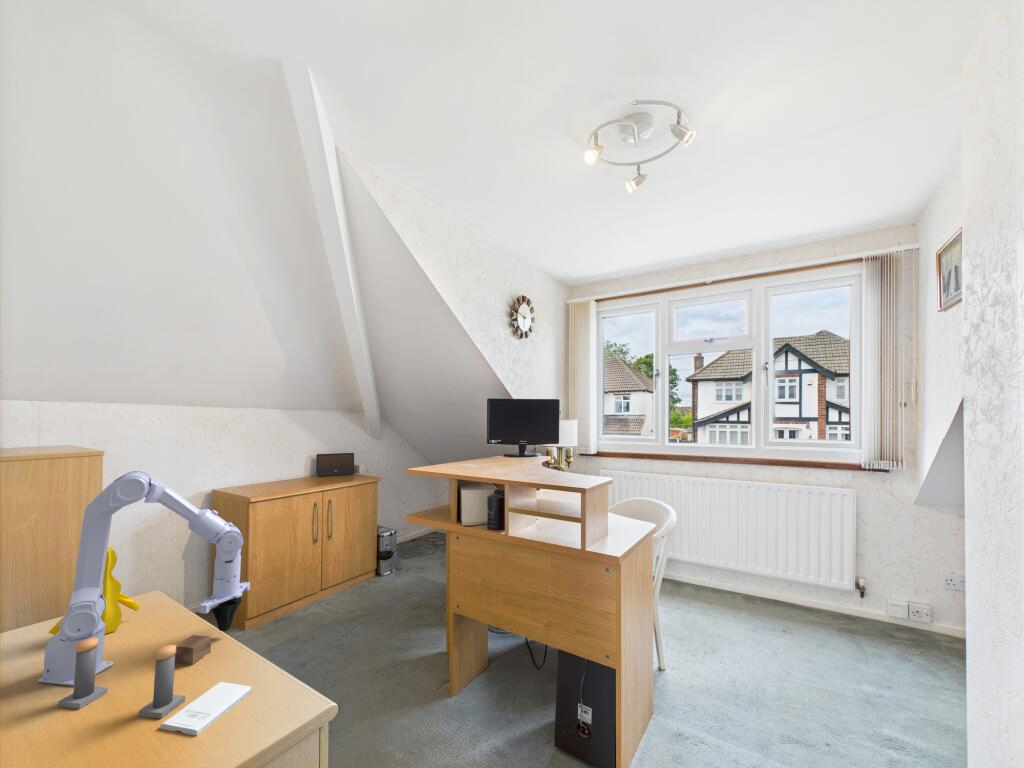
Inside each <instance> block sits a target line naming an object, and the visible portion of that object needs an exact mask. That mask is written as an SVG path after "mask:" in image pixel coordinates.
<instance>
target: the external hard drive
mask: <svg viewBox="0 0 1024 768" xmlns="http://www.w3.org/2000/svg"><path fill="white" fill-rule="evenodd" d="M252 692H253V688H252V686H249V685H243V684H237V683H236V684H235V683H231V682H226V681H225V682H224V681H220V682H219V681H218V683H216V684H214V686H212V687H211V688H209V689H208V690H206V691H205V692H204V693H202V694H201V695H200V696H198V697H197V698H195V699H193V701H191V702H190V703H188V704H187V705H186V706H184V707H183V708H182V709H180V710H178V711H177V712H176V713H174V714H173V715H172V716H171V717H169V718H168V719H166V720H164V722H161V724H160V729H161V730H166V731H171V732H181V733H182V734H186V735H191V736H195V735H196V737H197V736H199V735H200V734H201V733H203V732H204V731H205V730H206V729H208V728H209V727H210V726H212V725H213V724H214V723H215V722H216V721H218V720H219V719H220V718H221V717H223V716H224V715H225V714H226V713H227V712H229V711H230V710H232V708H234V707H236V705H238V704H239V703H240V702H241V701H243V700H244V699H245V698H246V697H248V696H249V695H250V694H252ZM248 694H249V695H248ZM243 698H244V699H243Z"/></svg>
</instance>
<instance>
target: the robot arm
mask: <svg viewBox="0 0 1024 768" xmlns="http://www.w3.org/2000/svg"><path fill="white" fill-rule="evenodd" d="M143 498H145V499H144V501H143V503H144V504H148V503H151V504H153V503H156V504H161V505H162V506H164V507H166V508H167V509H169V510H170V511H173V512H174V513H175V514H177V515H178V516H180V517H182V519H185V520H186V521H188V524H187V526H188V530H190V531H192V532H193V533H195V535H198V536H199V537H200V538H202V539H203V540H204V541H207V542H208V543H210V544H215V549H216V554H215V555H216V557H215V559H214V570H213V571H214V572H213V587H212V589H213V590H212V594H211V596H209V597H208V598H207V599H206V600H205V601H204V602H202V603H200V604H199V605H198V614H205V615H206V614H208V613H209V612H210V611H211V612H212V614H213V616H214V618H215V619H216V624H217V628H218V631H219V630H220V632H227V631H228V630H230V629H231V626H232V623H233V621H234V620H233V619H234V617H235V614H236V612H237V609H238V608H239V606H240V604H241V603H242V596H243V592H246V591H249V590H250V589H251V582H249V581H242V582H240V581H241V565H242V564H241V563H242V555H241V552H242V546H244V542H245V541H244V538H243V535H242V532H241V531H240V529H239V528H238V527H237V526H236V525H234V524H233V523H232V522H231V521H229V522H227V521H226V520H224V519H223V518H222V517H220V516H219V513H218V511H216V510H215V509H213V510H210V509H209V508H204V509H198V507H196V506H195V505H194V504H192V503H191V502H189V501H188V500H187V499H186V498H184V497H183V496H182V495H180V494H179V493H177V492H176V491H175V490H174V489H172V488H171V487H170V486H168V485H167V484H165V483H164V482H162V481H161V480H159V479H157V478H155V477H152V478H151V476H150V475H149V474H148V473H147V472H145V471H141V470H132V471H129V472H127V473H125V474H123V475H121V476H119V477H117V478H116V479H115V478H114V480H113V481H112V482H110V484H108V485H107V486H106V487H105V488H104V489H103V490H102V491H101V492H100V493H99V494H98V495H97V496H96V497H95V498H94V499H93V500H92V501H91V502H90V503H89V504H88V505H86V507H85V509H84V513H83V518H82V519H83V521H82V528H81V532H80V539H79V540H80V541H79V547H78V555H77V561H76V569H75V575H74V583H73V590H72V594H71V596H70V599H69V603H68V608H67V612H66V614H65V615H64V616H65V617H64V616H63V617H64V618H63V617H62V618H63V619H62V618H61V619H62V621H61V623H60V625H59V632H58V633H57V634H56V635H53V637H51V638H50V640H49V641H48V642H47V644H46V647H45V648H44V649H45V651H44V658H43V671H42V673H43V674H42V677H39V679H37V682H38V683H45V684H55V685H63V686H71V687H72V686H73V687H74V678H75V665H76V644H77V643H78V642H80V641H82V640H85V639H88V638H98V646H97V657H96V671H95V675H97V674H99V673H101V672H103V671H104V670H106V669H108V668H110V667H111V666H113V665H114V662H113V661H105V660H104V646H105V645H104V644H105V635H106V634H105V623H104V622H103V621H102V620H101V616H102V613H103V612H104V611H105V609H106V600H105V598H104V597H103V577H104V570H105V563H106V555H107V548H109V540H110V534H111V533H110V532H111V525H112V520H113V519H112V516H113V515H114V514H115V513H117V512H118V511H120V510H121V509H123V508H124V507H126V506H130V505H131V504H134V503H137V502H139V501H141V500H143Z"/></svg>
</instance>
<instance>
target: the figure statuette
mask: <svg viewBox="0 0 1024 768" xmlns="http://www.w3.org/2000/svg"><path fill="white" fill-rule="evenodd" d="M117 562H118V556H117V554H116V551H115V549H114V548H112V547H108V548H107V555H106V563H105V570H104V577H103V597H104V598H105V600H106V609H105V611H104V612H103V613H102V616H101V620H102V621H103V622H104V623H105V635H107V634H109V633H113V632H115V631H117V630H118V628H119V627H120V625H121V622H122V618H123V617H122V616H123V615H122V613H123V612H122V609H121V606H120V604H121V605H123V606H125V607H126V608H128V609H131V610H133V611H135V612H137V611H138V610H139V609H140V608H141V605H140V604H138V603H137V602H136V601H135V600H133V599H132V598H131V597H129V596H127V595H125V594H124V593H123V592H121V590H122V583H121V581H119V580H118V579H116V578H115V577H114V576H113V574H112V573H113V571H114V569H115V567H116V564H117ZM64 617H65V615H64V616H62V618H61V619H60V620H59V621H58V622H57V623H56V624H55V625H54V626H53V627H52V628H51V629H50V630H49V631H48V632H47V633H48V634H50V635H53V636H55V635H56V634H57V633H59V632H60V631H59V625H60V623H61V621H62V619H63V618H64Z"/></svg>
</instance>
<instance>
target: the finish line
mask: <svg viewBox="0 0 1024 768" xmlns="http://www.w3.org/2000/svg"><path fill="white" fill-rule="evenodd" d="M176 645H177V644H167V645H163V646H161V647H159V648H157V649H156V650H155V652H154V653H155V654H154V655H155V656H154V659H155V663H154V666H155V667H154V681H153V683H154V684H153V696H152V701H151V702H149V703H147V704H145V706H143V707H142V708H140V709H139V710H138V716H139V717H143V718H144V717H145V718H152V719H164V717H166V716H167V715H168V714H170V713H172V711H174V710H175V709H176V708H177V707H179V706H181V705H182V704H183V703H184V702H185V701H186V695H181V694H174V682H175V679H174V678H175V665H176V664H175V654H176ZM97 646H98V638H88V639H85V640H82V641H80V642H78V643H77V644H76V665H75V678H74V686H73V691H72V693H71V694H69V695H67V696H65V697H64V698H62V699H60V700H58V701H57V702H58V704H57V705H58V708H59V707H60V708H68V709H75V710H77V709H78V710H81V709H82V708H84V707H86V706H87V704H88V705H90V703H92V702H95V700H97V699H99V698H101V697H102V696H104V695H105V694H107V693H108V690H109V689H108V688H109V687H108V686H107V687H106V686H97V685H96V686H95V683H96V682H95V681H96V674H95V671H96V657H97Z"/></svg>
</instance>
